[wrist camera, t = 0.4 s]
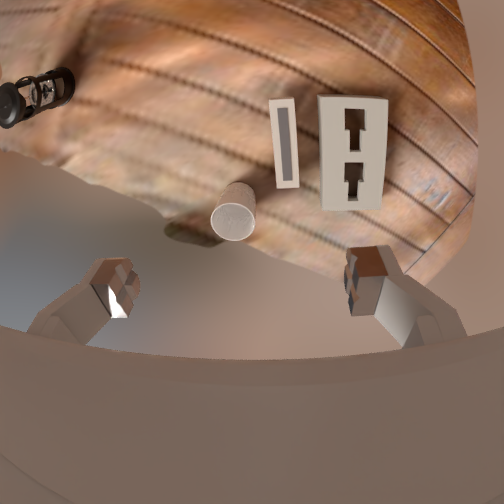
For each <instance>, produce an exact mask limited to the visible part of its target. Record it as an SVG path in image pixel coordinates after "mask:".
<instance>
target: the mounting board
mask: <svg viewBox="0 0 504 504" xmlns="http://www.w3.org/2000/svg"><path fill="white" fill-rule="evenodd" d="M317 104H318V125H319V156H320V203H321V207H322V211H341V210H380V209H381V201H382V193H383V184H384V173H385V162H386V148H387V128H388V100H387V99H385V98H382V97H378V96H364V95H339V94H317ZM344 108H348V109H365V129H360V150H350V130H349V129H345V110H344ZM345 162H364V164H363V180H358V190H357V196H348V185H349V182H348V180H344V167H345Z"/></svg>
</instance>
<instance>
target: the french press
mask: <svg viewBox="0 0 504 504" xmlns="http://www.w3.org/2000/svg"><path fill="white" fill-rule="evenodd" d="M61 77H62V78H63V80H64V87H65V88H64V94H63V97H62V99H59V100H56V101H55V100H54V99H55V96H56V84H55V81H54V79H57V78H61ZM24 78H28V80H24V81H22V80H23V79H24ZM30 84H31V86H30V90H29V96H28V97H25V98H24V97H23V96H22V95H21V94H20V93H19V91H18V88H21V87H24V86H27V85H30ZM74 89H75V80H74V76H73V74H72V72H71V71H70V70H69V69H67V68H64V67H60V68H56V69H54V70H50V71H48V72H46V73H45V74H39V75H38V76H36V77H33V76H26V77H23V78H21V79H19V80H18V81H17V82H16V84H15V85H14V84H13V83H10V82H7V83H4V84H3V85H1V86H0V126H1V127H3V128H5V129H9V128H11V127H13V126H14V125H15V124H17V123H19V122H21V121H23V120H28V119H30V118H32V117H33V116H35V115H36V114H38V113H40V112H42V111H45V110H47V109H53V108H55V107H60V106H63V105H65V104H66V103H67V102H68V101H69V100H70V99H71V97H72V95H73V93H74ZM27 98H29V99H30V103H31V105H30V106H27V107H26V100H25V99H27Z"/></svg>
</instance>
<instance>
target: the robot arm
mask: <svg viewBox="0 0 504 504" xmlns="http://www.w3.org/2000/svg"><path fill="white" fill-rule="evenodd" d="M346 259H347V262H348V264H347V265H346V266H345V270H344V284H345V290H346V293H347V294H348V295H349V299H348V304H349V308H350V313H351V316H364V315H374V316H375V317H376V319H377V320H378V321H379V322H380V323H381V324H382V325H383V326H384V327H385V328H386V329H387V330H388V331H389V333H390V334H391V335H392V336H393V337H394V338H395V339H396V340H397V341H398V342H399V343H400V345H401V346H402V349H400V350H393V351H385V352H377V353H369V354H360V355H351V356H339V357H325V358H309V359H286V360H285V359H284V360H225V359H201V358H185V357H172V356H160V355H151V354H141V353H132V352H125V351H118V350H111V349H104V348H98V347H92V346H86V345H85V344H87V343H88V342H89V341H90V339H91V338H92V337H93V336H94V335H95V334H96V333H97V332H98V331H99V330H100V329H101V328H102V327H103V326H104V325H105V324H106V323H107V322H108V321H109V320H110V319H111V317H120V318H128V317H129V315H130V312H131V310H132V308H133V306H134V305H133V302H132V301H133V300H134V299H136V298H137V297H138V295H139V292H140V280H139V277H138V275H137V274H136V273H135V272H134V271H133V270H132V268H133V264H132V262H131V260H130V259H128V258H99V259H96V260H95V262H94V263H93V264H92V266H91V267H90V269H89V270H88V272H87V273H86V275H85V276H84V278H83V279H82V281H81V282H80V284H76V285H75V286H73V287H72V288H71V289H69V290H68V291H67V292H65V293H64V294H62V295H61V296H60V297H59V298H57V299H56V300H54V301H53V302H52V303H50V304H49V305H48V306H47V307H45V308H44V309H42V310H41V311H40V312H38V314H37V315H36V317H35V319H34V320H33V322H32V324H31V325H30V327H29V329H28V330H27V332H22V331H19V330H15V329H11V328H8V327H4V326H1V325H0V504H504V327H502V328H498V329H495V330H491V331H487V332H484V333H480V334H476V335H472V336H467V334H466V331H465V329H464V327H463V325H462V322H461V320H460V318H459V316H458V313H457V311H456V309H454V308H453V307H452V306H450V305H449V304H448V303H446V302H445V301H444V300H442V299H441V298H440V297H438V296H437V295H435V294H434V293H433V292H431V291H430V290H428V289H427V288H426V287H424V286H423V285H421V284H420V283H419V282H417V281H416V280H414V279H413V278H412V277H410V276H409V275H403V272H402V270H401V268H400V266H399V264H398V262H397V260H396V258H395V256H394V254H393V252H392V250H391V248H390V246H389V245H376V246H367V247H348V249H347V253H346Z"/></svg>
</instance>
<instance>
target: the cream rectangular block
mask: <svg viewBox="0 0 504 504" xmlns="http://www.w3.org/2000/svg"><path fill="white" fill-rule="evenodd" d="M269 109H270V118H271V128H272V138H273V149H274V160H275V172H276V183H277V189H280V188H299V168H298V149H297V133H296V118H295V105H294V98H293V97H277V98H269Z"/></svg>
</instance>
